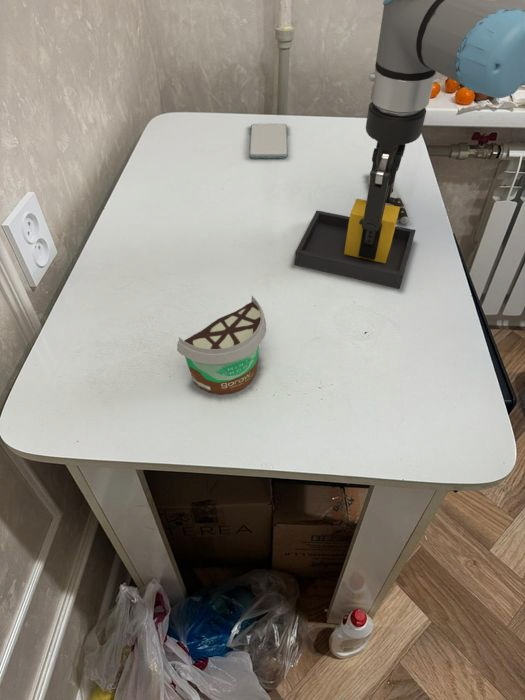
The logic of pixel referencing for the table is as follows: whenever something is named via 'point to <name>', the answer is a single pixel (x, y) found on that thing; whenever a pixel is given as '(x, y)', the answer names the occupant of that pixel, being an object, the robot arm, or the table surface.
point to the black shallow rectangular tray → (328, 255)
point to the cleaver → (398, 202)
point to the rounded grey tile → (268, 141)
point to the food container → (226, 350)
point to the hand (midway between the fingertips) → (370, 247)
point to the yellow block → (356, 231)
